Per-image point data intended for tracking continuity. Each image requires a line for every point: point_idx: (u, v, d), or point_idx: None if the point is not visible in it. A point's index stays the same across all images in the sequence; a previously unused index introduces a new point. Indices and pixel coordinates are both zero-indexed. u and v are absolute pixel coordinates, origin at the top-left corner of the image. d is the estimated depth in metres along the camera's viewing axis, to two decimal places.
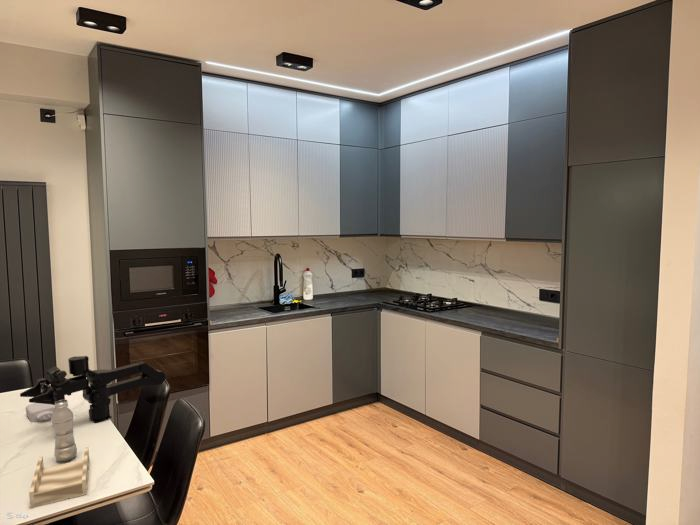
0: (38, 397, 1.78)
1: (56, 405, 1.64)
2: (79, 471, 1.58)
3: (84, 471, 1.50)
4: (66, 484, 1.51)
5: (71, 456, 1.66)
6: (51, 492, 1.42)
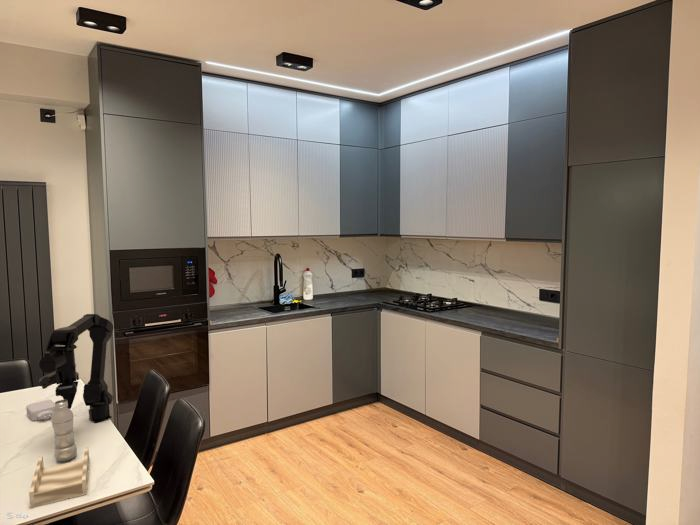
0: None
1: (56, 405, 1.64)
2: (79, 471, 1.58)
3: (84, 471, 1.50)
4: (66, 484, 1.51)
5: (71, 456, 1.66)
6: (51, 492, 1.42)
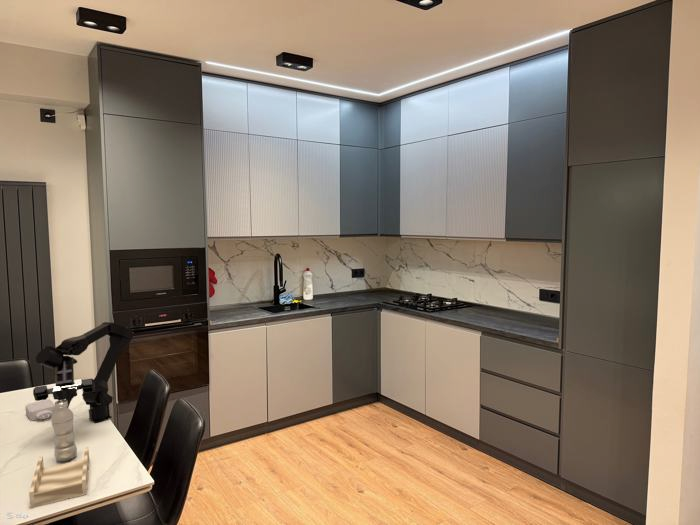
0: None
1: (56, 405, 1.64)
2: (79, 471, 1.58)
3: (84, 471, 1.50)
4: (66, 484, 1.51)
5: (71, 456, 1.66)
6: (51, 492, 1.42)
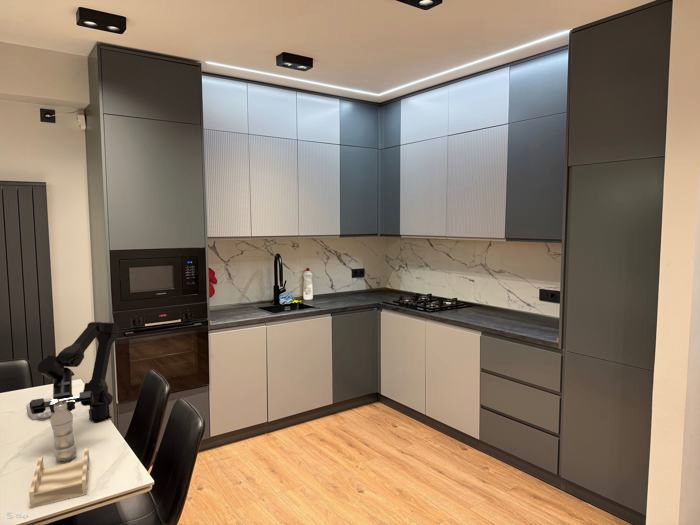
0: None
1: (55, 407, 1.62)
2: (79, 471, 1.58)
3: (84, 471, 1.50)
4: (66, 484, 1.51)
5: (71, 456, 1.66)
6: (51, 492, 1.42)
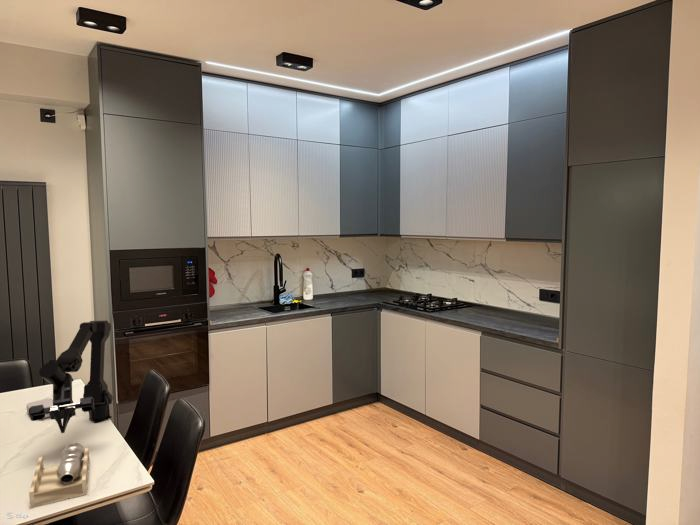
0: None
1: (60, 479, 1.48)
2: None
3: (84, 471, 1.50)
4: None
5: None
6: (51, 492, 1.42)
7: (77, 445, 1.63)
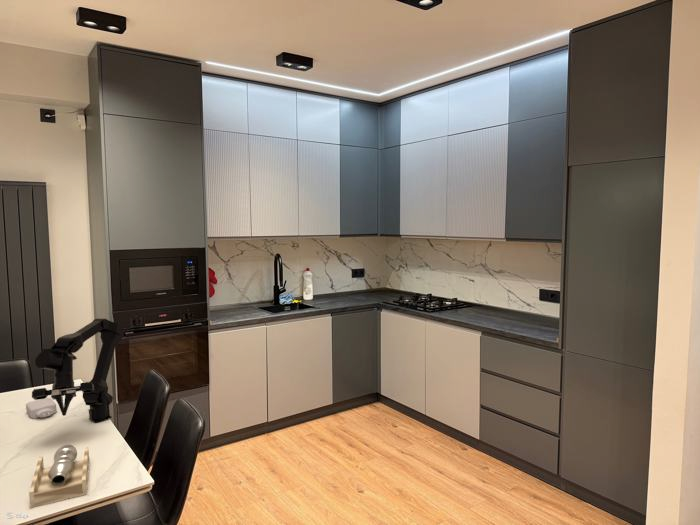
0: None
1: None
2: (79, 471, 1.58)
3: (84, 471, 1.50)
4: (66, 484, 1.51)
5: None
6: (51, 492, 1.42)
7: (62, 447, 1.62)
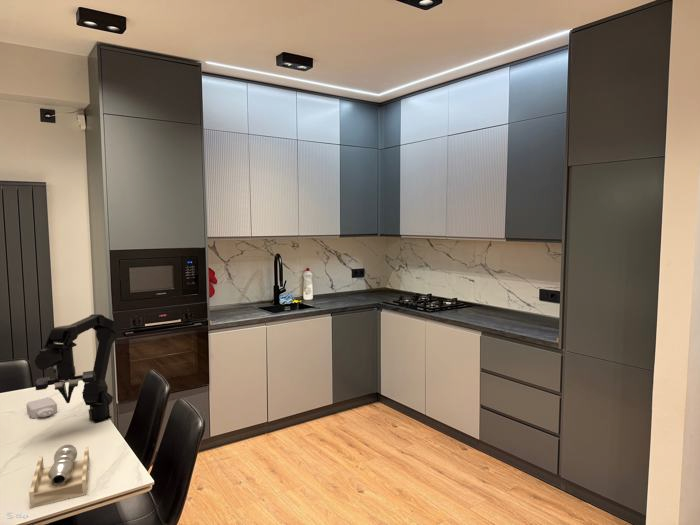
0: None
1: None
2: (79, 471, 1.58)
3: (84, 471, 1.50)
4: (66, 484, 1.51)
5: None
6: (51, 492, 1.42)
7: (62, 447, 1.62)
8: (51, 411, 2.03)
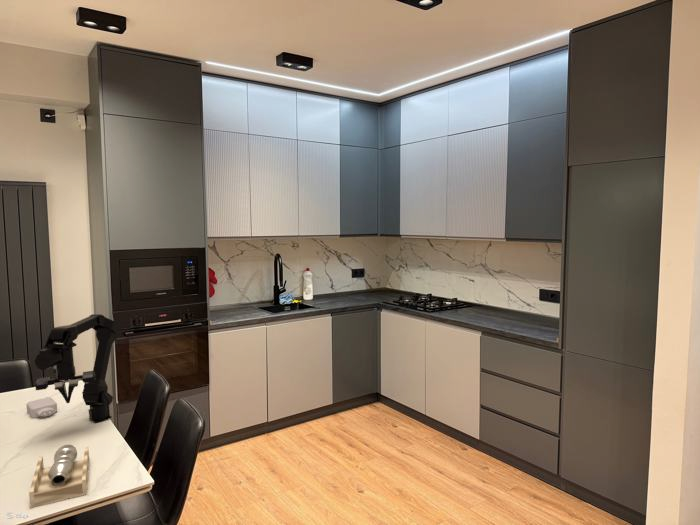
0: None
1: None
2: (79, 471, 1.58)
3: (84, 471, 1.50)
4: (66, 484, 1.51)
5: None
6: (51, 492, 1.42)
7: (62, 447, 1.62)
8: (51, 411, 2.04)
